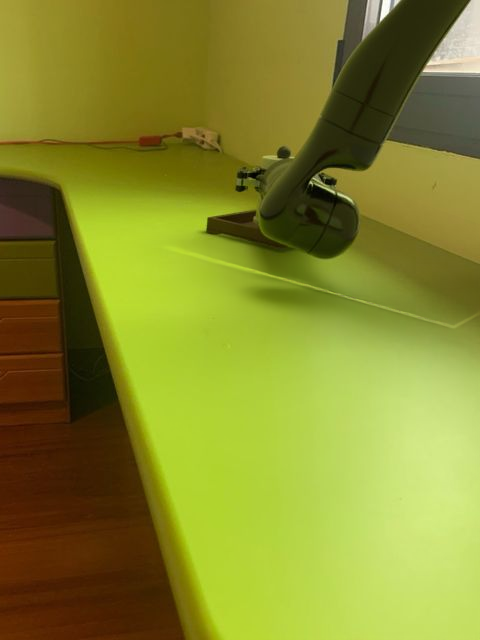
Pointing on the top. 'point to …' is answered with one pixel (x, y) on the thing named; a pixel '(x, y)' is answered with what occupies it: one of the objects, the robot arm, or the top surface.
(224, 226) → the tray
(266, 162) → the white cylinder with knob
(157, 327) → the top surface
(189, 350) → the top surface
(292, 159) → the robot arm
